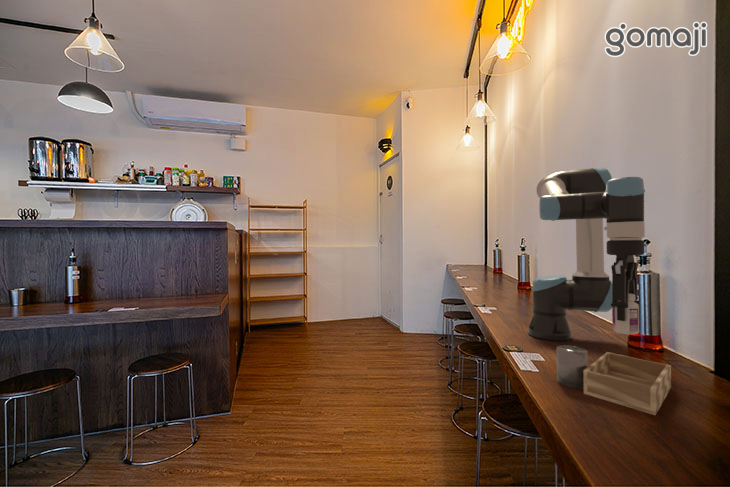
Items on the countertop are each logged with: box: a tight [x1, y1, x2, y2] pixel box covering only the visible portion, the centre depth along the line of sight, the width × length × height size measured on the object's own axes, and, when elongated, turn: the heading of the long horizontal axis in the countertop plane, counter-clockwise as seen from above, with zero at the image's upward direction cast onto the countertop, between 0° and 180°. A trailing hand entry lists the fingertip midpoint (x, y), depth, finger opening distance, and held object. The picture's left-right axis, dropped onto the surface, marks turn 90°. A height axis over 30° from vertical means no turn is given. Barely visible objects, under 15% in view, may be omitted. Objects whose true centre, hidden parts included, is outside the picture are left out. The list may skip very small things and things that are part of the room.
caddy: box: [583, 351, 672, 416], centre depth 83 cm, size 20×14×6 cm
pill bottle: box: [611, 293, 640, 335], centre depth 83 cm, size 5×5×10 cm
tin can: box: [556, 344, 588, 389], centre depth 88 cm, size 7×7×9 cm
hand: (625, 330), depth 83 cm, fingers closed on pill bottle, 5 cm apart
